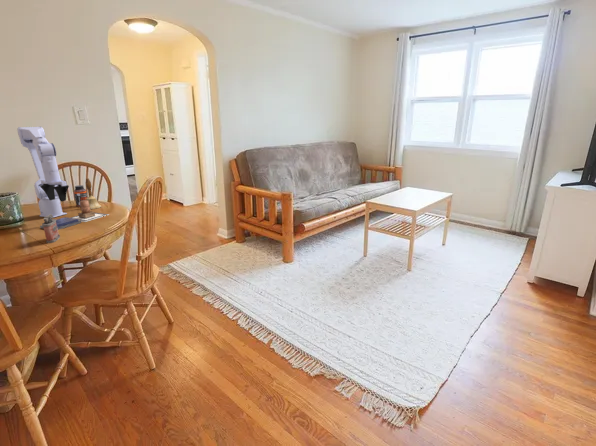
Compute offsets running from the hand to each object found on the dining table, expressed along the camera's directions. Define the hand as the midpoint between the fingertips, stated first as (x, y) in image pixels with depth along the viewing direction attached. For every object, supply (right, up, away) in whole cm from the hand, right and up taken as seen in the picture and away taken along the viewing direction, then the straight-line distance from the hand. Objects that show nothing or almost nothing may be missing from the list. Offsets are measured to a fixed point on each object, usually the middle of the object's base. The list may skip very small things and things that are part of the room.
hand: (57, 200), depth 156 cm
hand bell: (-1, -2, +28) cm, 28 cm away
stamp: (+7, -7, +10) cm, 15 cm away
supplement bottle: (-9, -1, +33) cm, 34 cm away
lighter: (+13, -17, -20) cm, 30 cm away
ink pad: (+3, -12, -2) cm, 12 cm away
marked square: (+8, -7, +11) cm, 15 cm away
